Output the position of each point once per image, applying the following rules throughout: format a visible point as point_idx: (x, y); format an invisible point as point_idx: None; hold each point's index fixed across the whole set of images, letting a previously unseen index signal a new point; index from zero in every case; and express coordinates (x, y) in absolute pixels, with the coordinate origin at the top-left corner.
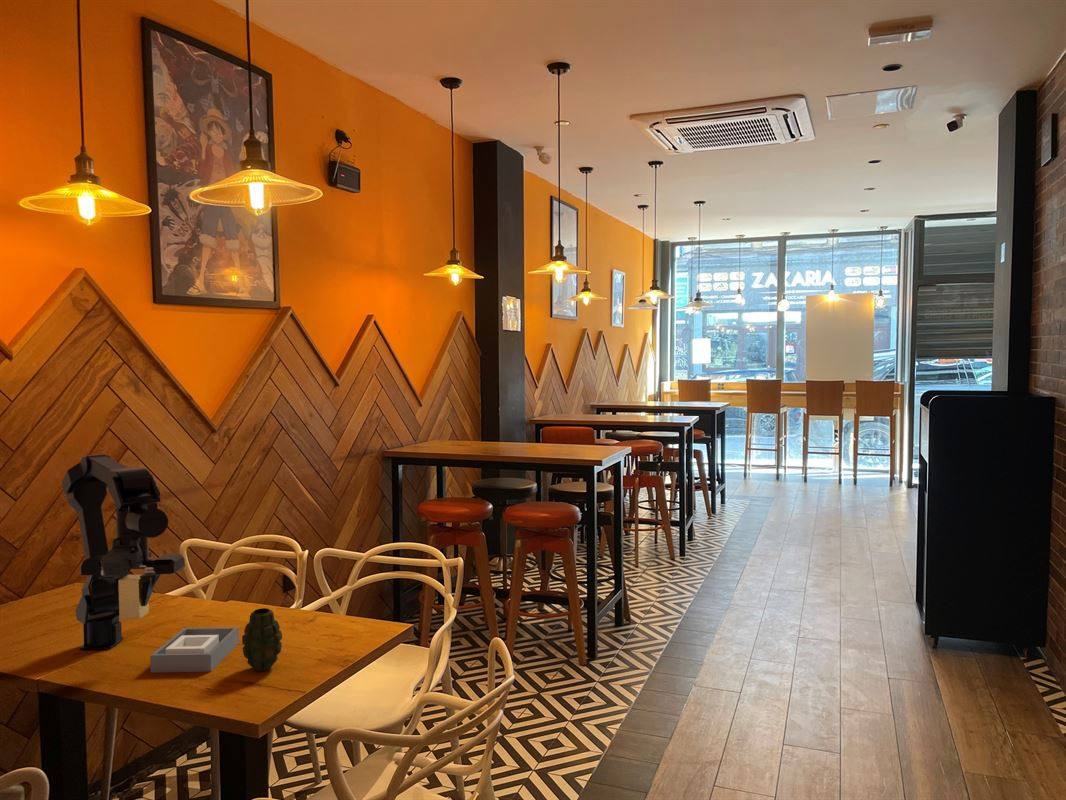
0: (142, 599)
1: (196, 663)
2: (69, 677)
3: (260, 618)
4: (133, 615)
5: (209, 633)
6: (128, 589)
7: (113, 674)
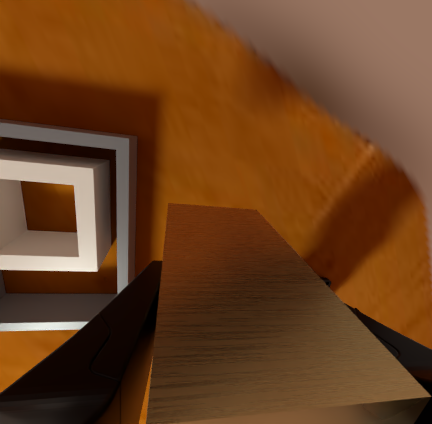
0: (158, 276)
1: None
2: (313, 139)
3: None
4: (197, 210)
5: (58, 313)
6: (260, 301)
7: (225, 140)
